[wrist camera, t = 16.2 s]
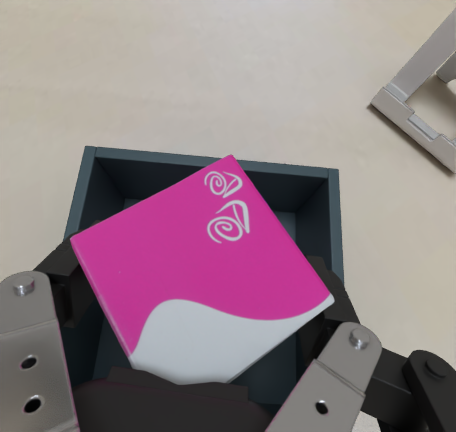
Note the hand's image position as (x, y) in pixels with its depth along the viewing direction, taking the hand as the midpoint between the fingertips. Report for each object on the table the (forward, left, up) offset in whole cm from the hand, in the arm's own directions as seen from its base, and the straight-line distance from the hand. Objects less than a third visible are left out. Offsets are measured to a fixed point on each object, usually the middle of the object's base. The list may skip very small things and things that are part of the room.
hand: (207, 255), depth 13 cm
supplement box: (0, -1, -7) cm, 8 cm away
